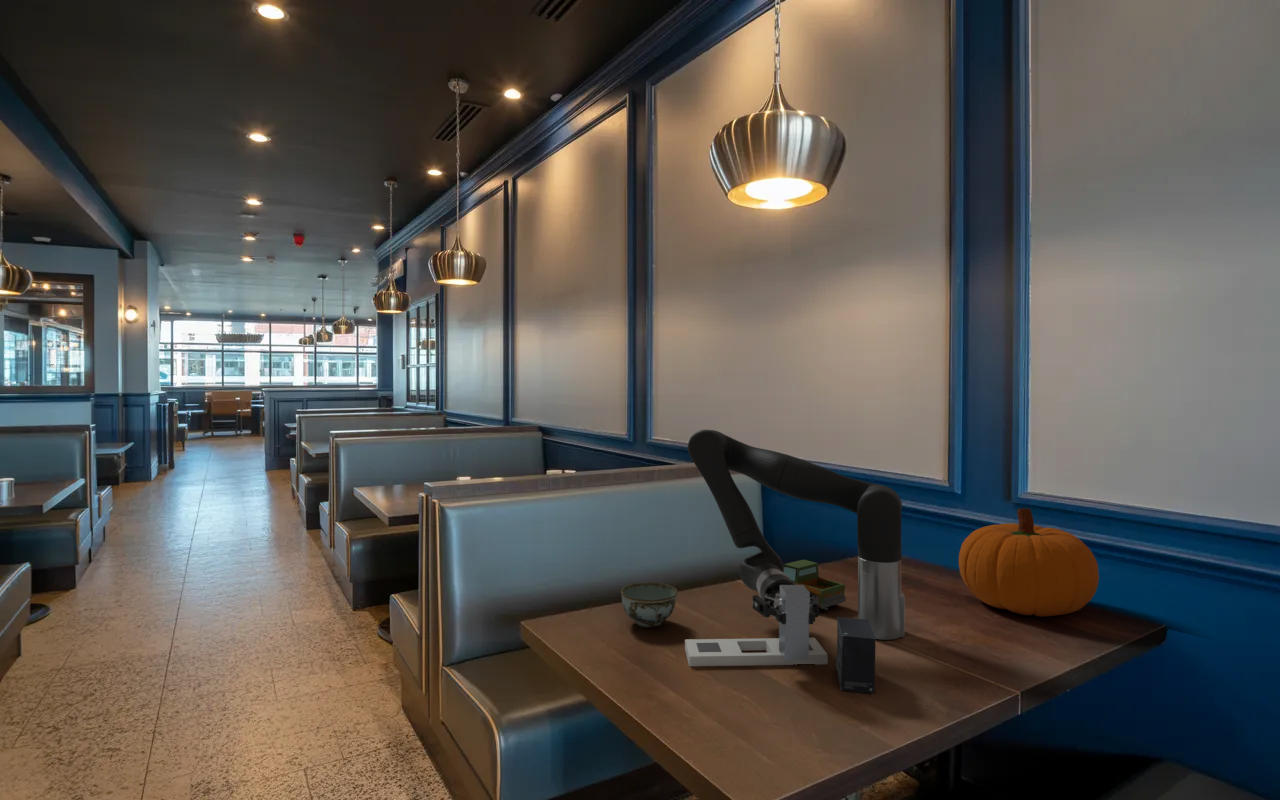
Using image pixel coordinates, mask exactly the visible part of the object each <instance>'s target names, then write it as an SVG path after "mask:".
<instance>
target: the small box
mask: <svg viewBox="0 0 1280 800" xmlns="http://www.w3.org/2000/svg"><path fill="white" fill-rule="evenodd" d="M836 627H837V628H836V633H837V635H836V658H835V659H836V662H835V669H836V676H837V681H838V686H839V691H844V692H845V691H846V692H853V693H857V692H858V693H866V694H875V690H876V689H875V687H876V684H875V682H876V640H877V639H876V638H875V636H874V633H873V631H872V628H871V626H870V623H869V620H866V619H858V618H853V617H844V616H837V617H836Z"/></svg>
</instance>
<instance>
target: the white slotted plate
mask: <svg viewBox="0 0 1280 800" xmlns="http://www.w3.org/2000/svg"><path fill="white" fill-rule="evenodd" d="M684 651H685V655H686V658H687V663H688V666H689V667H720V666H721V667H732V666H733V667H736V666H737V667H740V666H743V667H744V666H795V665H796V666H798V665H797V664H815V665H828V662H829V661H828V658H829V657H828V653H827V652H826V651H825V649H824V648H823V646H822V645H821V644H820V643H819V641H818V640H817V639H816V638H815V637H809V660H784V658H783V657H782V655H781V653H780V651H779V637H778V638H776V637H773V638H768V637H767V638H764V637H762V638H708V639H707V638H706V639H705V638H703V639H701V638H700V639H699V638H698V639H697V638H695V639H690V638H689V639H684ZM742 651H765V652H742ZM794 664H795V665H794Z"/></svg>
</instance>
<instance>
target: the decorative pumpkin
mask: <svg viewBox="0 0 1280 800" xmlns="http://www.w3.org/2000/svg"><path fill="white" fill-rule="evenodd" d="M1016 514H1017V519H1018V523H1001V524H991V525H986V526H983V527H980V528H978V529H975V530H974V531H972V532H971V533H970V534H969V535H968V536H967V537H966V538H965V539H964V540H963V542H962V543H961V547H960V550H959V554H958V567H959V574H960V576H961V578H962V579H961V580H962V581H963V583H964V584H965V586H966V587H967V588H968V589H969V591H970V592H971V593H972V594H973V595H974V596H975V597H976V598H977V599H978V600H979V601H981V602H983V603H984V604H986V605H988V606H991V607H993V608H997V609H1001V610H1007V611H1010V612H1012V613H1015V614H1019V615H1024V616H1033V615H1034V616H1036V617H1041V618H1043V617H1044V618H1045V617H1054V616H1063V615H1066V614H1068V615H1069V614H1072V613H1074V612H1077V611H1079V610H1081V609H1082V608H1083V607H1085V606H1086V605H1087V604H1089V602H1090V601H1091V600H1092V599H1093V597H1094V596H1095V594H1096V592H1097V590H1098V589H1097V588H1098V587H1099V581H1100V575H1099V564H1098V561H1097V559H1096V557H1095V555H1094V553H1093V552H1092V550H1091V549H1090V548H1089V546H1087V545H1086V544H1085V543H1084V542H1083V541H1082V540H1081V539H1080V538H1078V537H1077V536H1076V535H1074V534H1072V533H1070V532H1067V531H1065V530H1062V529H1060V528H1054V527H1046V526H1045V527H1043V526H1040V525H1035V523H1034V517H1033V514H1032V509H1031V508H1028V507H1027V508H1026V507H1023V508H1018V509H1017V512H1016Z"/></svg>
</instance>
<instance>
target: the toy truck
mask: <svg viewBox="0 0 1280 800" xmlns="http://www.w3.org/2000/svg"><path fill="white" fill-rule="evenodd" d="M783 565H784V572H783V573H785V574H786V575H787V576H788V577H789V578H790V580H791V581H792V582H793V583H794V584H795V585H804V587H805V588H806V589H807V590H808V591H809V592H810V597H812V596H814V595H816V596H818V597H819V609H820V610H821V609H822V610H825V611H828V610H829V607H833V606H835V605H838V604H841V603H844V602H847V601H846V598H847V596H845V589H846V586H845V583H841V582H838V581H833V580H830V579H827V578H822V577H820V575H819V573H820V572H819V565H818V562H814V561H810V560H807V559H800V560H797V561H792V562H788V563H783Z"/></svg>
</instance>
